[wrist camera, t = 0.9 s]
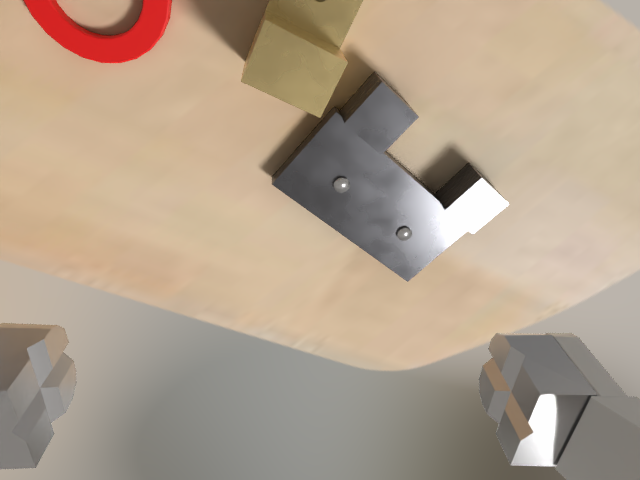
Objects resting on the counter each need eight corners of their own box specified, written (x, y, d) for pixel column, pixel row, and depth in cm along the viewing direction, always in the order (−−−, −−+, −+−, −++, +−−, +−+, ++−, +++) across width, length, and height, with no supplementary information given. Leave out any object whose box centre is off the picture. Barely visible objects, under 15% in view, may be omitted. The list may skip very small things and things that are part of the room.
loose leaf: (245, 61, 30) (240, 81, 25) (293, -63, 26) (297, -63, 22) (313, 94, 31) (320, 118, 27) (367, -19, 28) (384, -11, 23)
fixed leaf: (271, 177, 34) (271, 193, 32) (369, 66, 30) (376, 76, 28) (404, 273, 41) (411, 291, 38) (498, 191, 37) (512, 207, 34)
